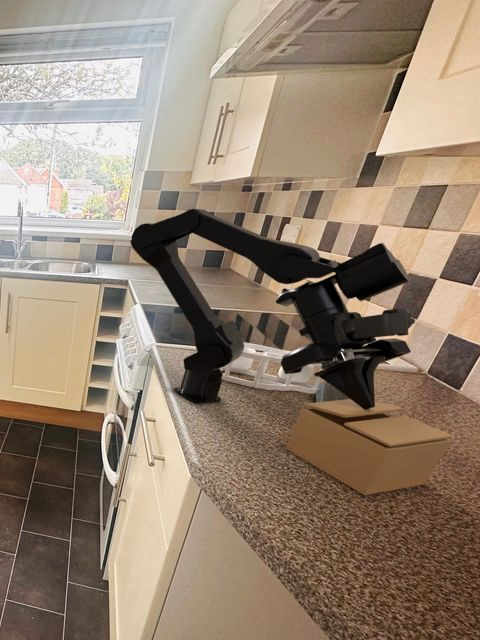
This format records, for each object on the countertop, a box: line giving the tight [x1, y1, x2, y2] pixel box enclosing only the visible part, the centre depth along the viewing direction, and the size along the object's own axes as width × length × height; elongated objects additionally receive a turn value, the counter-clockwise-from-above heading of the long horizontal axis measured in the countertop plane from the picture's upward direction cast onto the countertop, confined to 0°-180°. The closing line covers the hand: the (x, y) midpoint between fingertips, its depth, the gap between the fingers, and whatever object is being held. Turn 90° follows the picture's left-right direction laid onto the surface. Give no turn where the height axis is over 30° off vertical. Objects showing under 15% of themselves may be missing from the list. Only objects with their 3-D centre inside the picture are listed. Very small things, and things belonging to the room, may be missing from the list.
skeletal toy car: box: [220, 342, 322, 395], centre depth 93 cm, size 20×11×7 cm, turn 54°
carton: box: [285, 407, 454, 496], centre depth 63 cm, size 12×12×8 cm
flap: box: [303, 399, 406, 418], centre depth 64 cm, size 6×12×1 cm, turn 104°
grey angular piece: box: [315, 381, 350, 403], centre depth 84 cm, size 10×7×12 cm
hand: (369, 408), depth 62 cm, fingers closed
